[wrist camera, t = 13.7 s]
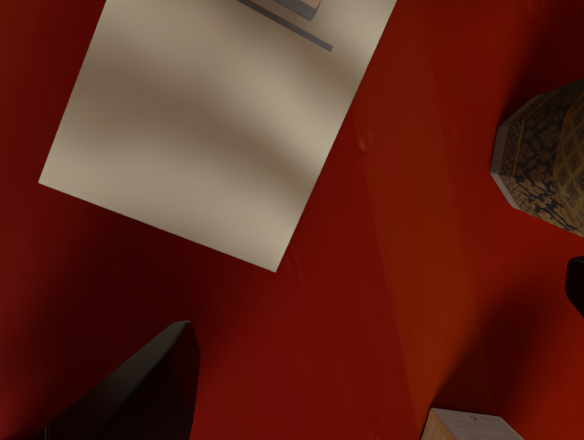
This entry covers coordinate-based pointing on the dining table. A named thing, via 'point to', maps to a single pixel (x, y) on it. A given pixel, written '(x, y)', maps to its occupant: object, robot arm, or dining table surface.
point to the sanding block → (302, 7)
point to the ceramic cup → (545, 157)
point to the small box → (466, 426)
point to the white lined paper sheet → (212, 115)
